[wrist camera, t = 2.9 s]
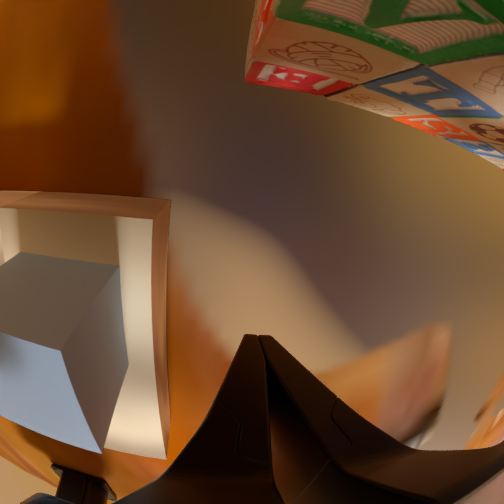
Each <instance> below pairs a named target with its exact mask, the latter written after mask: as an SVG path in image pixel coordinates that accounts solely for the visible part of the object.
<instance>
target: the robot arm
mask: <svg viewBox="0 0 504 504" xmlns="http://www.w3.org/2000/svg"><path fill="white" fill-rule="evenodd" d="M51 468H52V469H53V470H54V471H55V473H56V474H57V475H58V476H59V477H60V481H59V484H58V488H57V492H56V495H55V496H52V495H49V494H44V493H36V494H34V495H32V496H31V497H29V498H27V499H26V500H25V501H23V502H21V503H20V504H107V500H108V499H109V500H112V501H116V502H114V503H112V504H504V441H502V442H501V443H499V444H497V445H495V446H492V447H488V448H482V449H471V450H449V451H448V450H447V451H428V450H427V451H426V450H418V449H414V448H411V447H408V446H406V445H404V444H402V443H401V442H399V441H397V440H396V439H394V438H393V437H391V436H390V435H388V434H387V433H385V432H384V431H382V430H381V429H379V428H378V427H376V426H375V425H373V424H372V423H370V422H369V421H367V420H366V419H365V418H363V417H362V416H360V415H359V414H358V413H357V412H355V411H354V410H353V409H352V408H350V407H349V406H348V405H347V404H346V403H344V402H343V401H342V400H341V399H340V398H337V396H336V395H335V394H334V393H333V392H332V391H331V390H330V389H328V388H327V387H326V386H325V385H324V384H323V383H322V382H321V381H319V380H318V379H317V378H316V377H315V376H314V375H313V374H312V373H311V372H310V371H308V370H307V369H306V368H305V367H304V366H303V365H302V364H301V363H300V362H299V361H298V360H296V359H295V358H294V357H293V356H292V355H291V354H290V353H289V352H288V351H287V350H286V349H285V348H284V347H283V346H282V345H280V344H279V343H278V342H277V341H276V340H275V339H274V338H273V337H272V336H270V335H259V336H257V335H253V334H245V335H244V337H243V339H242V341H241V343H240V346H239V348H238V350H237V352H236V354H235V356H234V359H233V361H232V363H231V365H230V367H229V370H228V372H227V374H226V376H225V378H224V381H223V383H222V385H221V387H220V389H219V391H218V393H217V396H216V398H215V400H214V402H213V404H212V406H211V408H210V410H209V412H208V414H207V415H206V417H205V419H204V421H203V422H202V424H201V425H200V427H199V428H198V430H197V431H196V433H195V434H194V436H193V437H192V438H191V440H190V441H189V442H188V444H187V445H186V446H185V448H184V449H183V450H182V451H181V453H180V454H179V455H178V457H177V458H176V459H175V461H174V462H173V463H172V464H171V465H170V467H169V468H168V469H167V470H166V471H165V472H164V473H163V474H162V475H161V476H160V477H158V478H157V479H156V480H154V481H152V482H151V483H149V484H147V485H145V486H144V487H142V488H140V489H138V490H137V491H135V492H133V493H131V494H129V495H127V496H126V497H124V498H122V499H120V500H118V501H117V497H116V496H115V495H114V493H113V492H112V491H111V489H110V488H109V487H108V485H107V484H106V482H105V481H103V480H100V479H96V478H93V477H90V476H86V475H83V474H80V473H77V472H74V471H71V470H68V469H65V468H62V467H60V466H57V465H55V464H52V465H51Z"/></svg>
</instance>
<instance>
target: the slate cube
mask: <svg viewBox="0 0 504 504" xmlns="http://www.w3.org/2000/svg"><path fill="white" fill-rule="evenodd" d="M128 366H129V363H128V356H127V349H126V341H125V332H124V323H123V312H122V299H121V284H120V266H117V265H109V264H101V263H94V262H87V261H79V260H72V259H65V258H58V257H51V256H45V255H38V254H32V253H25V252H20V253H18V254H17V255H15V256H14V257H12V258H11V259H9V260H8V261H7V262H5V263H4V264H2V265H1V266H0V415H1V416H3V417H5V418H7V419H9V420H11V421H13V422H15V423H17V424H19V425H21V426H24V427H26V428H28V429H30V430H33V431H35V432H37V433H40V434H42V435H45V436H47V437H50V438H53V439H55V440H58V441H61V442H64V443H67V444H70V445H73V446H76V447H79V448H82V449H86V450H89V451H93V452H96V453H100V454H102V453H103V449H104V445H105V441H106V438H107V434H108V430H109V427H110V423H111V420H112V416H113V413H114V410H115V406H116V403H117V400H118V397H119V393H120V390H121V387H122V384H123V381H124V378H125V375H126V372H127V369H128Z"/></svg>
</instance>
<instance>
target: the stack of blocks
mask: <svg viewBox="0 0 504 504" xmlns="http://www.w3.org/2000/svg"><path fill="white" fill-rule="evenodd" d="M244 80H245V83H251V84H259V85H266V86H274V87H280V88H286V89H291V90H297V91H302V92H307V93H312V94H316V95H324V96H325V97H326V98H327V99H329V100H332V101H336V102H340V103H343V104H347V105H350V106H354V107H357V108H361V109H364V110H368V111H371V112H374V113H377V114H380V115H383V116H388V117H391V118H392V119H394V120H397V121H399V122H402V123H405V124H407V125H410V126H412V127H415V128H417V129H420V130H422V131H425V132H427V133H430V134H432V135H434V136H437V137H443V138H445V139H446V140H449V141H451V142H453V143H456V144H457V145H459V146H461V147H463V148H465V149H467V150H469V151H471V152H473V153H476V154H478V155H479V156H481V157H483V158H485V159H487V160H488V161H490V162H492V163H494V164H495V165H497V166H499V167H500V168H502V170H503V171H504V0H256V1H255V7H254V13H253V17H252V21H251V27H250V34H249V40H248V47H247V54H246V62H245V75H244Z"/></svg>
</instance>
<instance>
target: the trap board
mask: <svg viewBox="0 0 504 504" xmlns="http://www.w3.org/2000/svg"><path fill="white" fill-rule="evenodd" d="M170 208H171V200H167V199H156V198H144V197H132V196H118V195H104V194H87V193H68V192H44V191H0V266H1V265H2V264H4V263H5V262H7V261H8V260H9V259H11V258H12V257H14V256H15V255H17V254H18V253H20V252H25V253H32V254H38V255H45V256H51V257H58V258H65V259H72V260H79V261H87V262H94V263H101V264H109V265H117V266H120V284H121V299H122V312H123V323H124V332H125V341H126V349H127V356H128V363H129V366H128V369H127V372H126V375H125V378H124V381H123V384H122V387H121V390H120V393H119V397H118V400H117V403H116V406H115V410H114V413H113V416H112V420H111V423H110V427H109V430H108V434H107V438H106V441H105V445H104V448H108V449H112V450H116V451H121V452H125V453H130V454H135V455H141V456H146V457H153V458H159V459H167V448H168V439H169V430H170V421H171V418H170V405H169V391H168V372H167V342H166V287H167V256H168V237H169V221H170Z"/></svg>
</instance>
